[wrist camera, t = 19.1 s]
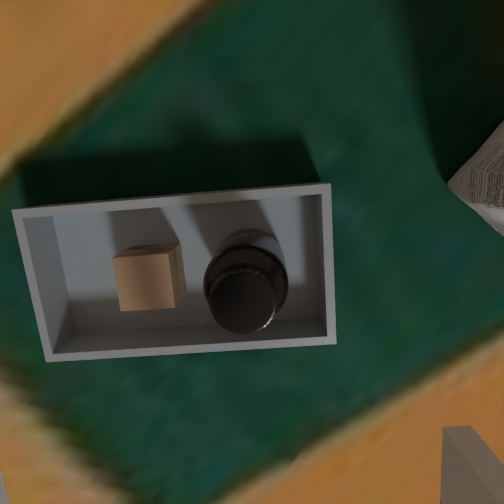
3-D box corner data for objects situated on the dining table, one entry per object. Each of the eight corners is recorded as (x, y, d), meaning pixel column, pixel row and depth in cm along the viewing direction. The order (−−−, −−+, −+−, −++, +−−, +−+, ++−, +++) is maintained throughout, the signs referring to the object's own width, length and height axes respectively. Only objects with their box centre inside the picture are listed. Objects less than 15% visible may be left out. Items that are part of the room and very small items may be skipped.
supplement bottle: (237, 214, 35) (225, 235, 23) (296, 249, 36) (313, 286, 24) (203, 272, 37) (176, 318, 25) (261, 304, 37) (261, 365, 25)
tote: (73, 338, 39) (46, 362, 34) (45, 204, 36) (11, 209, 31) (326, 321, 38) (336, 343, 33) (321, 181, 35) (330, 183, 30)
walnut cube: (139, 293, 37) (120, 311, 32) (131, 246, 36) (111, 257, 31) (186, 289, 37) (175, 307, 32) (180, 242, 36) (167, 253, 31)
